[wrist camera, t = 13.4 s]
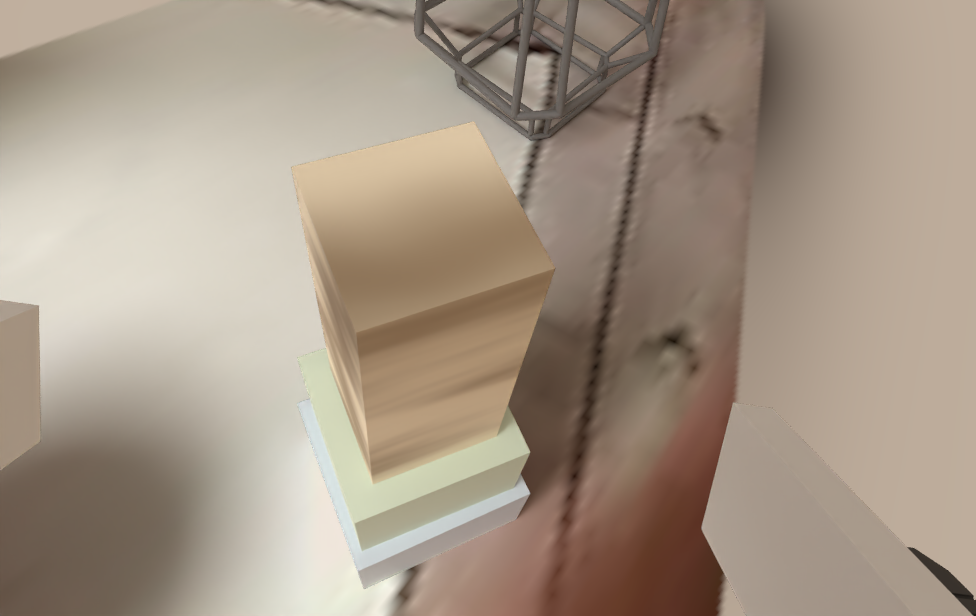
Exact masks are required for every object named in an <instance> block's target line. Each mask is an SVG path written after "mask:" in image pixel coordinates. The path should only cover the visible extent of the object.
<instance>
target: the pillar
mask: <svg viewBox="0 0 976 616" xmlns="http://www.w3.org/2000/svg"><path fill="white" fill-rule="evenodd" d="M291 168H292V173H293V178H294V183H295V189H296V194H297V199H298V204H299V209H300V214H301V219H302V225H303V230H304V235H305V240H306V245H307V250H308V256H309V261H310V266H311V271H312V276H313V281H314V287H315V292H316V297H317V302H318V307H319V312H320V317H321V323H322V328H323V333H324V338H325V343H326V348H327V354H328V359H329V364H330V369H331V371H332V374H333V377H334V380H335V382H336V385H337V388H338V391H339V393H340V396H341V399H342V402H343V404H344V407H345V410H346V413H347V415H348V418H349V421H350V424H351V426H352V429H353V432H354V435H355V437H356V440H357V443H358V446H359V448H360V451H361V454H362V457H363V459H364V462H365V465H366V468H367V470H368V473H369V476H370V479H371V481H372V484H376V483H378V482H381V481H383V480H386V479H389V478H391V477H394V476H396V475H399V474H401V473H404V472H407V471H409V470H412V469H414V468H417V467H419V466H422V465H425V464H427V463H430V462H432V461H435V460H437V459H440V458H443V457H445V456H448V455H450V454H453V453H455V452H458V451H461V450H463V449H466V448H468V447H471V446H473V445H476V444H479V443H481V442H484V441H486V440H489V439H492V438H494V437H497V434H498V431H499V428H500V426H501V423H502V420H503V417H504V414H505V411H506V408H507V406H508V403H509V400H510V397H511V394H512V391H513V388H514V385H515V383H516V380H517V377H518V374H519V371H520V368H521V365H522V363H523V360H524V357H525V354H526V351H527V348H528V345H529V343H530V340H531V337H532V334H533V331H534V328H535V325H536V322H537V320H538V317H539V314H540V311H541V308H542V305H543V302H544V300H545V297H546V294H547V291H548V288H549V285H550V282H551V279H552V277H553V274H554V271H555V267H554V265H553V263H552V261H551V259H550V258H549V256H548V254H547V252H546V250H545V249H544V247H543V245H542V243H541V241H540V239H539V238H538V236H537V234H536V232H535V230H534V229H533V227H532V225H531V223H530V221H529V220H528V218H527V216H526V214H525V212H524V211H523V209H522V207H521V205H520V203H519V202H518V200H517V198H516V196H515V194H514V193H513V191H512V189H511V187H510V185H509V184H508V182H507V180H506V178H505V176H504V175H503V173H502V171H501V169H500V167H499V166H498V164H497V162H496V160H495V158H494V156H493V155H492V153H491V151H490V149H489V147H488V146H487V144H486V142H485V140H484V138H483V137H482V135H481V133H480V131H479V129H478V128H477V126H476V124H475V122H470V123H466V124H462V125H458V126H454V127H450V128H445V129H441V130H437V131H433V132H429V133H425V134H421V135H417V136H413V137H409V138H405V139H401V140H397V141H393V142H389V143H385V144H381V145H377V146H373V147H369V148H365V149H361V150H357V151H353V152H349V153H345V154H341V155H337V156H333V157H329V158H325V159H321V160H317V161H313V162H309V163H305V164H301V165H297V166H293V167H291Z"/></svg>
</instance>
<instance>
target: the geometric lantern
mask: <svg viewBox="0 0 976 616" xmlns="http://www.w3.org/2000/svg"><path fill="white" fill-rule="evenodd" d="M444 1H446V0H428V1H426V2H425V0H416V9H415V13H414V31H415V36H416V38H417V39H418V40H419V41H420V42H421V43H423V44H424V45H425V46H426V47H427V48H429V49H430V50H431V51H432V52H433V53H435V54H436V55H437V56H438V57H439V58H441V59H442V60H443V61H444V62H445V63H446V64H448V65H449V66H450V67H451V68H452V69H454V70H455V78H456V81H457V87H459V89H461V90H463V91H464V92H465V93H467V94H468V95H469V96H471V97H472V98H474V99H475V100H476V101H478V102H479V103H480V104H482V105H483V106H484V107H486V108H487V109H488V110H490V111H491V112H493V113H494V114H495V115H497V116H498V117H499V118H501V119H502V120H503V121H505V122H506V123H507V124H509V125H510V126H512V127H513V128H514V129H516V130H517V131H518V132H520V133H521V134H522V135H524V136H525V137H526V138H529V140H536V139H543V138H549V137H551V135H552V134H554V133H555V132H556V131H557V130H559V129H560V128H561V127H562V126H563V125H565V124H566V123H567V122H568V121H570V120H571V119H572V118H573V117H575V116H576V115H577V114H578V113H579V112H581V111H582V110H583V109H584V108H586V107H587V106H588V105H589V104H591V103H592V102H593V101H594V100H595V99H597V98H598V97H599V96H600V95H602V94H603V93H604V92H605V91H606V88H608V87H609V86H611V85H612V84H614V83H615V82H617V81H618V80H620V79H621V78H623V77H624V76H626V75H627V74H629V73H630V72H632V71H633V70H635V69H637V68H638V67H640V66H641V65H643V64H644V63H646V62H647V61H649V60H650V59H652V58H653V57H655V56H656V55H657V52H658V47H659V43H660V39H661V35H662V30H663V26H664V22H665V18H666V13H667V9H668V5H669V0H660V4H659V9H658V14H657V18H656V23H655V28H654V29H653V25H652V18H653V15H654V11H655V8H656V4H657V0H649V3H648V6H647V10H646V14H645V17H644V16H642V15H641V14H639V13H638V12H636V11H635V10H633V9H632V8H630V7H629V6H627V5H626V4H624V3H623V2H622V1H620V0H605V1H606V2H608V3H609V4H611V5H612V6H614V7H615V8H617V9H618V10H620V11H621V12H622V13H624V14H625V15H627V16H628V17H630V18H631V19H633V20H634V21H636V22H637V23H639V24H640V26H639V27H638V28H636V29H635V30H634V31H633V32H631V33H630V34H629V35H628V36H626V37H625V38H624V39H623V40H621V41H620V42H619V43H618V44H617V45H615V46H614V47H613V48H612V49H610V50H609V51H608V52H605V51H603V50H601V49H600V48H598V47H596V46H595V45H593V44H591V43H590V42H588V41H586V40H585V39H583V38H581V37H579V36H578V35H576V34H574V31H575V24H576V17H577V10H578V3H579V0H568V8H567V16H566V24H565V28H564V27H562V26H561V25H559V24H557V23H556V22H554V21H552V20H551V19H549V18H547V17H546V16H544V15H542V14H540V13H539V12H537V11H536V9H537V6H538V4H539V1H540V0H525V4H524V8H523V0H517V1H518V9H516V10H515V11H514V12H512V13H511V14H509V15H508V16H507V17H505V18H504V19H503V20H501V21H500V22H499V23H497V24H496V25H494V26H493V27H492V28H490V29H489V30H488V31H486V32H485V33H483V34H482V35H481V36H479V37H478V38H477V39H475V40H474V41H473V42H471V43H470V44H468V45H467V46H466V47H464V48H463V49H462V50H460V51H459V52H458V51H457V50H456V48H455V47H454V46H453V45H452V44H451V42H450V41H449V40H448V39H447V38H446V36H445V35H444V34H443V33H442V31H441V30H440V29H439V28H438V27H437V25H436V24H435V23H434V22H433V21H432V19H431V18H430V17H429V16H428V15H427V13H426V11H428V10H429V9H431V8H433V7H435V6H437V5H439V4H440V3H442V2H444ZM520 13H521V14H523V20H522V27H521V30H518V29H519V20H520ZM514 17H515V20H514V29H513V32H512V33H510V34H509V35H507V36H506V37H505V38H503V39H502V40H500V41H499V42H497V43H496V44H494V45H493V46H492V47H490V48H489V49H487V50H486V51H484V52H483V53H482V54H480V55H479V56H477V57H476V58H474V59H473V60H471V61H470V62H469V63H467V64H464V63H463V62H461V60H462V56H463V55H464V54H466V53H467V52H468V51H470V50H471V49H472V48H474V47H475V46H476V45H478V44H479V43H480V42H482V41H483V40H485V39H486V38H487V37H489V36H490V35H491V34H493V33H494V32H495V31H497V30H498V29H500V28H501V27H502V26H504V25H505V24H506V23H508V22H509V21H510V20H512V19H513V18H514ZM535 17H537V18H538V19H540V20H542V21H543V22H545V23H547V24H548V25H550V26H552V27H553V28H555V29H557V30H559V31H560V32H562V33H564V40H563V48H560V47H559V46H557V45H556V44H554V43H553V42H551V41H550V40H549V39H547V38H546V37H544V36H543V35H541V34H540V33H538V32H537V31H535V30H532V29H533V24H534V19H535ZM424 20H425V21H426V22H427V23H428V24H429V26H430V27H431V28H432V29H433V30H434V32H435V33H436V34H437V35H438V36H439V38H440V39H441V40H442V41H443V42H444V44H445V45H446V46H447V47H448V48H449V50H450V51H451V52H452V53H453V54H454V56H453V55H452V54H451V53H449V52H448V51H447V50H446V49H444V48H443V47H442V46H440V45H439V44H438V43H437V42H435V41H434V40H433V39H431V38H430V37H429V36H428V35H426V34H425V33H424ZM644 29H645V30H646V35H647V41H648V46H649V51H647V52H644V53H641V54H637V55H634V56H630V57H627V58H624V59H620V60H617V61H614V62H610V63H609V57H610V56H611V55H613V54H614V53H615V52H616V51H618V50H619V49H620V48H621V47H623V46H624V45H625V44H626V43H628V42H629V41H630V40H631V39H633V38H634V37H635V36H636V35H638V34H639V33H640V32H641V31H643V30H644ZM530 34H532V35H534V36H535V37H537V38H538V39H539V40H541V41H542V42H544V43H545V44H547V45H548V46H550V47H551V48H553V49H554V50H556V51H557V52H559V53H560V54H561V55H562V56H561V64H560V72H559V81H558V90H557V100H556V104H554V105H553V106H552V107H551V108H549V109H548V110H543V111H533V110H531V109H530V108H528V107H527V106H525V105H524V104H523V103H521V97H522V89H523V82H524V75H525V68H526V61H527V54H528V47H529V40H530ZM516 35H520V43H519V50H518V58H517V66H516V74H515V81H514V89H513V97H512V96H511V95H509V94H508V93H507V92H505V91H504V90H502V89H501V88H499V87H498V86H496V85H495V84H493V83H492V82H491V81H489V80H488V79H486V78H485V77H483V76H482V75H480V74H479V73H477V72H476V71H475V70H473V69H472V68H471V67H472V66H474V65H475V64H476V63H478V62H479V61H481V60H482V59H484V58H485V57H486V56H488V55H489V54H491V53H492V52H494V51H495V50H496V49H498V48H499V47H501V46H502V45H504V44H505V43H506V42H508V41H509V40H511V39H512V38H514V37H515V36H516ZM573 39H574V40H575V41H577V42H579V43H580V44H582V45H584V46H585V47H587V48H589V49H591V50H592V51H594V52H596V53H597V54H599V55H601V58H600V61H599V65H598V68H597V71H594V70H593V69H591V68H590V67H588V66H587V65H585V64H584V63H582V62H581V61H580V60H578V59H577V58H575V57H574V56H572V55H571V53H572V46H573ZM570 61H572V62H573V63H575V64H576V65H578V66H579V67H581V68H582V69H584V70H585V71H586V72H588V73H589V74H591V76H589V77H588V78H587V79H586V80H584V81H583V82H582V83H581V84H579V85H578V86H577V87H576V88H574V89H573V90H572V91H571V92H569V93H568V94H567V95H566V91H567V83H568V74H569V67H570ZM630 62H631V63H630ZM627 63H629V64H628V65H626V66H624V67H623V68H621V69H620V70H618V71H617V72H615V73H614V74H612V75H610V76H609V77H607V72H608V69H609V68H613V67H616V66H620V65H623V64H627ZM601 74H602V76H601ZM462 77H463V78H464V79H466V80H467V81H468V82H469V83H470V84H472V85H473V86H474V87H475V88H476V89H477V90H479V91H480V92H481V93H482V94H483V95H485V96H486V97H487V98H488V99H489V100H491V101H492V102H493V103H494V104H495V105H497V106H498V107H499V108H500V109H501V110H503V111H504V112H505V113H506V114H507V115H508V116H510V117H511V118H512V119H514V120H518V121H527V120H529V129H528V131H526V130H525V129H524V128H522V127H521V126H519V125H518V124H517V123H515V122H514V121H513V120H511V119H510V118H509V117H507V116H506V115H504V114H503V113H502V112H500V111H499V110H498V109H496V108H495V107H494V106H492V105H491V104H489V103H488V102H487V101H485V100H484V99H483V98H481V97H480V96H479V95H477V94H476V93H474V92H473V91H472V90H470V89H469V88H468V87H466V86H465V85H464V84H463V83H462ZM606 77H607V78H606ZM596 78H597V80H598V84H597V85H595V86H593V87H592V88H590V89H589V90H587V91H586V92H584V93H583V94H581V95H580V96H578V97H576V98H575V99H573V100H572V101H570V102H569V103H567V104H566V105H565V103H566V102H567V101H568V100H570V99H571V98H572V97H573V96H575V95H576V94H577V93H578V92H579V91H581V90H582V89H583V88H584V87H586V86H587V85H588V84H589V83H591V82H592V81H593V80H594V79H596ZM490 88H491V89H492V90H491V89H490ZM493 90H494V91H495V92H497V93H498V94H499V95H501V96H502V97H504V98H505V99H507V100H508V101H510V102H511V103H512V104H511V105H509V104H508V103H507V102H506V101H505V100H503V99H502V98H501V97H500V96H499V95H497V94H496V93H495V92H494V91H493ZM575 108H576V109H575ZM520 109H521V110H523V111H524V112H520ZM574 109H575V110H574ZM572 110H573V111H572ZM571 111H572V112H571ZM569 112H571V113H570V114H569V115H567V116H566V117H565V118H564V119H562V120H561V121H560V122H559V123H557V124H556V125H555V126H554V127H552V128H551V129H550V124H551V120H552V119H558V118H562V117H563V116H565V115H566V114H568V113H569ZM545 119H546V121H545V126H544V133H539V134H533V133H534V124H535V120H545ZM549 129H550V130H549Z"/></svg>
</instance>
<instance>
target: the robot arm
mask: <svg viewBox="0 0 976 616" xmlns="http://www.w3.org/2000/svg"><path fill="white" fill-rule="evenodd" d="M40 441H41V417H40V350H39V306H38V305H31V304H24V303H17V302H10V301H3V300H0V471H1V470H2V469H3V468H5V467H6V466H7V465H9V464H10V463H12V462H13V461H14V460H16V459H17V458H18V457H20V456H21V455H23V454H24V453H25V452H27V451H28V450H29V449H31V448H32V447H34V446H35V445H36V444H38V443H39V442H40ZM701 529H702V531H703V533H704V535H705V537H706V539H707V541H708V543H709V545H710V547H711V549H712V551H713V553H714V555H715V557H716V559H717V560H718V562H719V564H720V566H721V568H722V570H723V572H724V574H725V576H726V578H727V580H728V582H729V584H730V586H731V588H732V590H733V592H734V594H735V596H736V598H737V599H738V601H739V603H740V605H741V607H742V609H743V611H744V613H745V615H746V616H976V600H974V599H973V595H972V594H971V593H970V592H969V591H968V590H967V589H966V588H965V587H964V586H963V585H962V584H961V583H960V582H959V581H958V580H957V579H956V578H955V577H954V576H953V575H952V574H951V573H950V572H949V571H948V570H946V569H945V568H943V567H942V566H940V565H939V564H937V563H936V562H934V561H933V560H931V559H930V558H928V557H927V556H925V555H924V554H922V553H921V552H919V551H918V550H916V549H914V548H910V547H906V546H905V545H904V544H903V543H902V542H901V541H900V540H899V538H898V537H897V536H896V535H895V534H894V533H893V532H892V531H891V530H890V529H888V527H887V526H886V525H885V524H884V523H883V522H882V521H881V520H880V519H879V518H878V517H877V516H876V515H875V514H874V513H873V512H872V511H871V510H870V508H869V507H868V506H866V505H865V503H864V502H863V501H862V500H861V499H860V498H859V497H858V496H857V495H856V494H855V493H854V492H853V491H852V490H851V489H850V488H849V487H848V486H847V485H846V484H845V483H844V482H843V481H842V480H841V478H840V477H839V476H837V474H836V473H835V472H834V471H833V470H832V469H831V468H830V467H829V466H828V465H827V464H826V463H825V462H824V461H823V460H822V459H821V458H820V457H819V456H818V455H817V454H816V453H815V452H814V451H813V450H812V449H811V448H810V446H809V445H808V444H807V443H806V442H805V441H804V440H803V439H802V438H801V437H800V436H799V435H798V434H797V433H796V432H795V431H794V430H793V429H792V428H791V427H790V426H789V425H788V424H787V423H786V422H785V421H784V420H783V419H782V417H781V416H780V415H779V414H777V412H776V411H775V410H774V409H773V408H770V407H762V406H755V405H748V404H741V403H734V402H733V405H732V409H731V413H730V417H729V421H728V425H727V429H726V433H725V437H724V441H723V445H722V449H721V453H720V457H719V461H718V464H717V468H716V472H715V476H714V480H713V484H712V488H711V492H710V496H709V500H708V504H707V508H706V512H705V516H704V520H703V524H702V528H701Z"/></svg>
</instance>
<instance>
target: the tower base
mask: <svg viewBox="0 0 976 616" xmlns="http://www.w3.org/2000/svg"><path fill="white" fill-rule="evenodd" d="M297 405H298V408H299V410H300V413H301V416H302V419H303V422H304V425H305V428H306V431H307V434H308V436H309V439H310V442H311V445H312V448H313V450H314V453H315V456H316V459H317V461H318V464H319V467H320V470H321V472H322V475H323V478H324V481H325V483H326V486H327V489H328V492H329V494H330V497H331V500H332V503H333V505H334V508H335V511H336V514H337V517H338V519H339V522H340V525H341V528H342V530H343V533H344V536H345V539H346V541H347V544H348V547H349V550H350V552H351V555H352V558H353V561H354V563H355V566H356V569H357V572H358V574H359V577H360V580H361V583H362V585H363V588H364V589H366V588H368V587H370V586H372V585H375V584H377V583H379V582H381V581H383V580H385V579H388V578H390V577H392V576H394V575H396V574H398V573H401V572H403V571H405V570H407V569H409V568H412V567H414V566H416V565H418V564H420V563H422V562H425V561H427V560H429V559H431V558H433V557H435V556H438V555H440V554H442V553H444V552H446V551H449V550H451V549H453V548H455V547H457V546H459V545H462V544H464V543H466V542H468V541H470V540H472V539H475V538H477V537H479V536H481V535H483V534H486V533H488V532H490V531H492V530H494V529H496V528H499V527H501V526H503V525H505V524H507V523H509V522H512V521H514V520H516V518H517V517H518V515H519V513H520V511H521V510H522V508H523V506H524V504H525V502H526V501H527V499H528V497H529V495H530V492H529V490H528V488H527V486H526V484H525V481H524V479H523V477H522V475H521V473H520V475H519V478H518V480H517V482H516V484H515V486H514V488H513V489H510V490H508V491H506V492H503V493H501V494H498V495H496V496H494V497H491V498H489V499H487V500H484V501H482V502H479V503H477V504H475V505H472V506H470V507H467V508H465V509H463V510H460V511H458V512H455V513H453V514H451V515H448V516H446V517H443V518H441V519H439V520H436V521H434V522H431V523H429V524H427V525H424V526H422V527H419V528H417V529H415V530H412V531H410V532H407V533H405V534H403V535H400V536H398V537H395V538H393V539H391V540H388V541H386V542H383V543H381V544H379V545H376V546H374V547H371V548H369V549H367V550H364V551H362V550H361V548H360V545H359V542H358V539H357V536H356V533H355V530H354V527H353V524H352V521H351V518H350V516H349V513H348V510H347V507H346V504H345V501H344V498H343V495H342V492H341V489H340V486H339V483H338V481H337V478H336V475H335V472H334V469H333V466H332V463H331V460H330V457H329V454H328V451H327V449H326V446H325V443H324V440H323V437H322V434H321V431H320V428H319V425H318V422H317V419H316V416H315V414H314V411H313V408H312V405H311V402H310V398H309V399H307V400H304V401H301V402H299V403H297Z"/></svg>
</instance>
